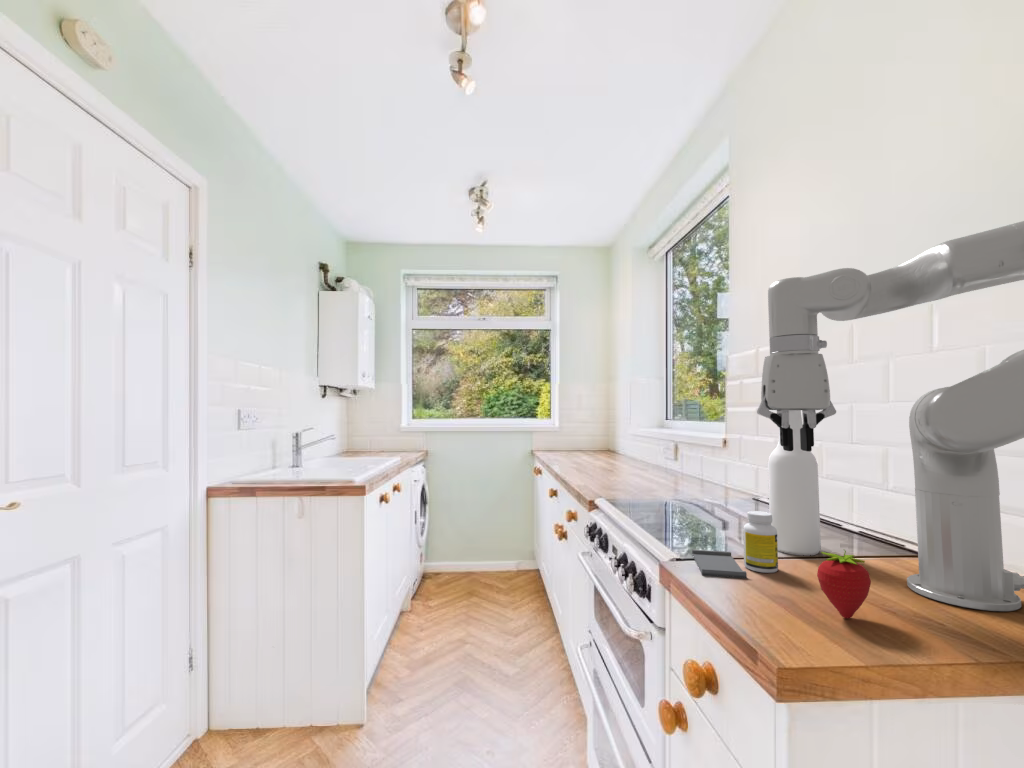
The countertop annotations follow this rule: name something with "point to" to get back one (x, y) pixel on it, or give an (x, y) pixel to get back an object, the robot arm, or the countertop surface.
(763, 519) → the supplement bottle
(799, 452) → the alcohol
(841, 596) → the strawberry
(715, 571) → the tray
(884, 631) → the countertop surface
